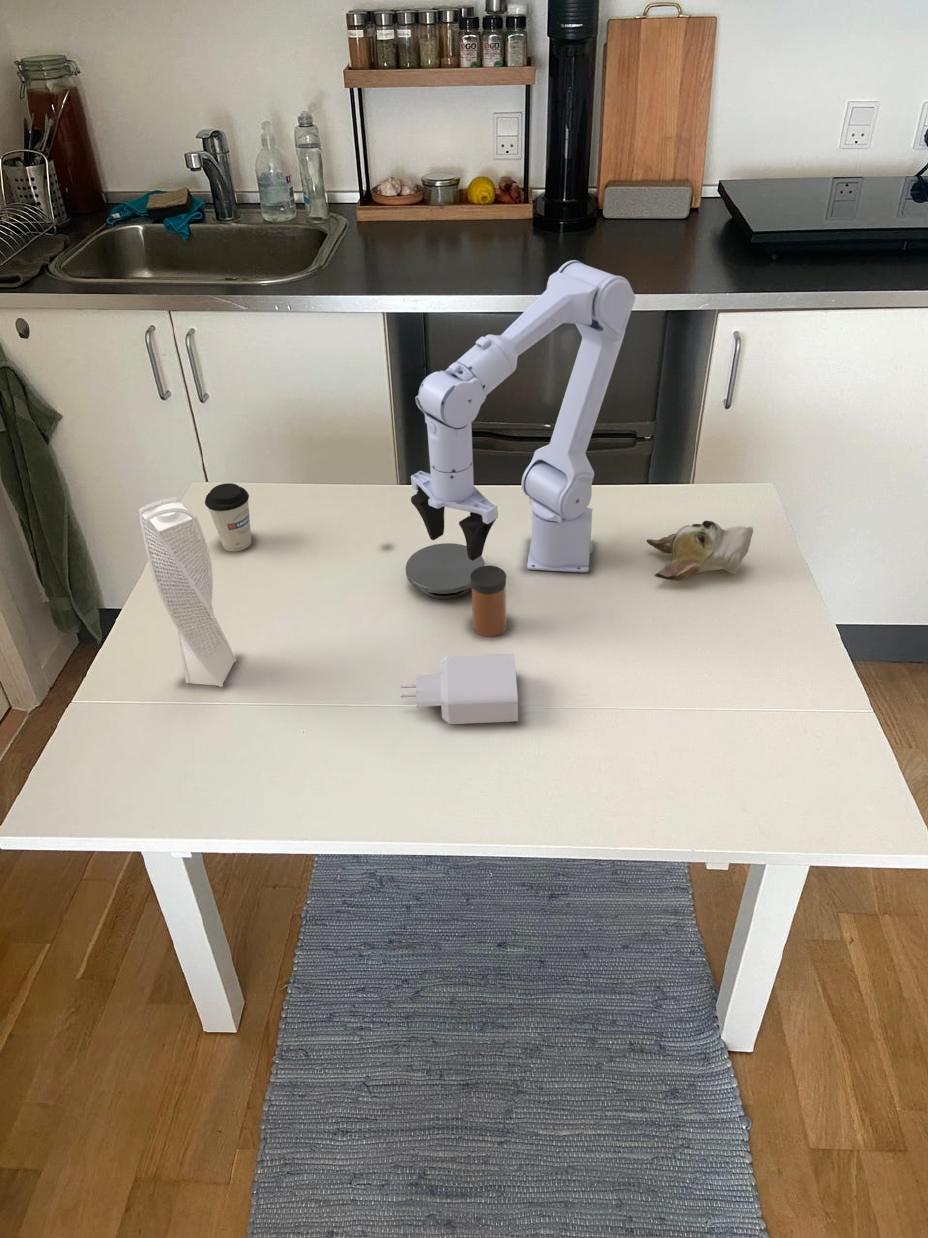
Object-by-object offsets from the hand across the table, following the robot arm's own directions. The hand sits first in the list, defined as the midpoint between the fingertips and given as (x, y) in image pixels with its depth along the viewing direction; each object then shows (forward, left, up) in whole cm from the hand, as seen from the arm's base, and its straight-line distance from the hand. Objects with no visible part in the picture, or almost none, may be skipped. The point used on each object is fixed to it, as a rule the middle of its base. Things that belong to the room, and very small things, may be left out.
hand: (455, 546), depth 132 cm
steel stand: (+3, -5, -10) cm, 12 cm away
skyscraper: (+32, +19, -10) cm, 38 cm away
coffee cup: (+39, -12, -10) cm, 42 cm away
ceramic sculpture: (-35, -12, -10) cm, 39 cm away
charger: (-3, +21, -10) cm, 23 cm away
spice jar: (-5, +5, -10) cm, 12 cm away
